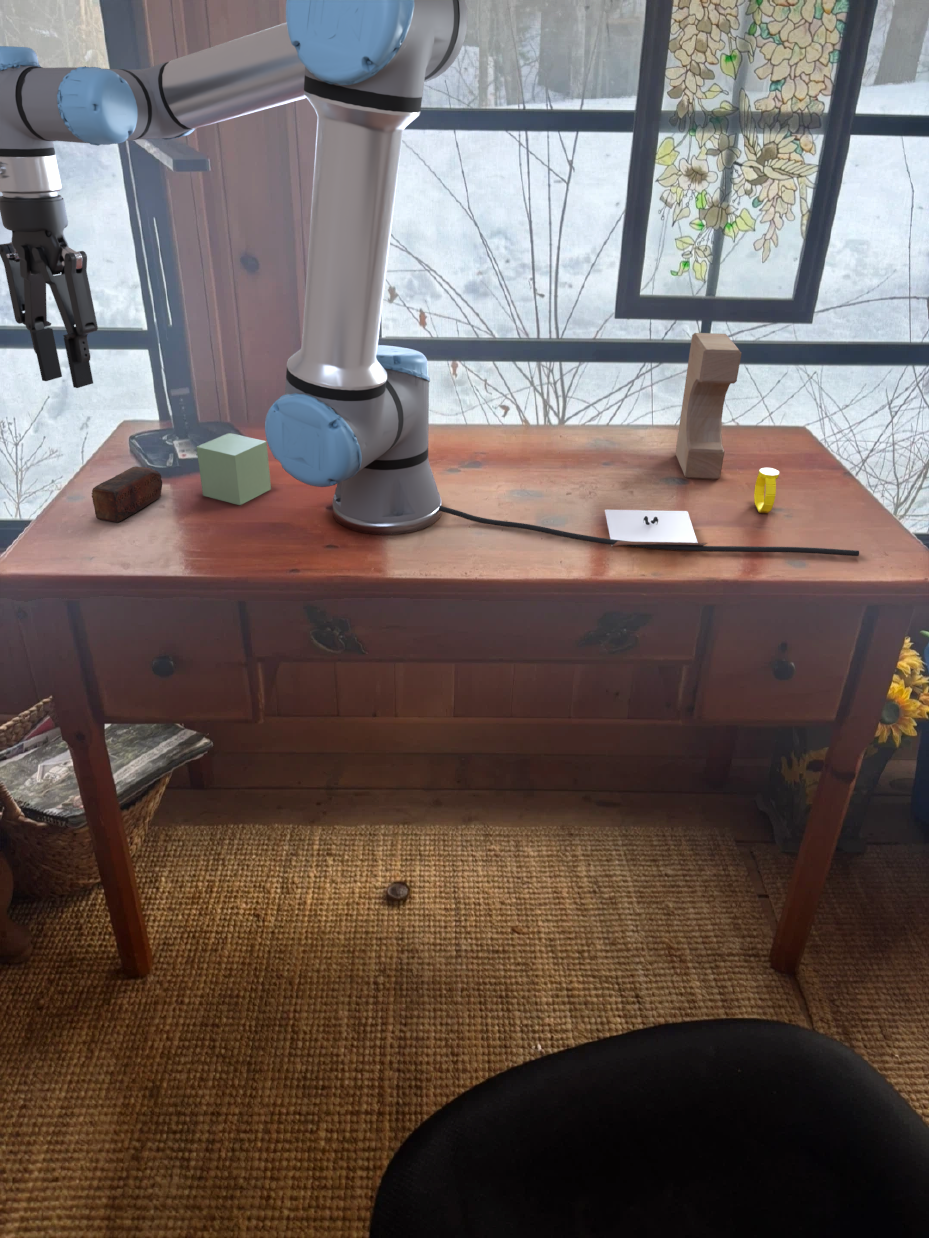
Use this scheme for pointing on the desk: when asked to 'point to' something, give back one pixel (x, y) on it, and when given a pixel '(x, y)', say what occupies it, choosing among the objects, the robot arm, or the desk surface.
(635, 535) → the folded paper
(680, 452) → the decorative block
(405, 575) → the desk surface
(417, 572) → the desk surface
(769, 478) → the watch
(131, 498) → the brick
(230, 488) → the green block
